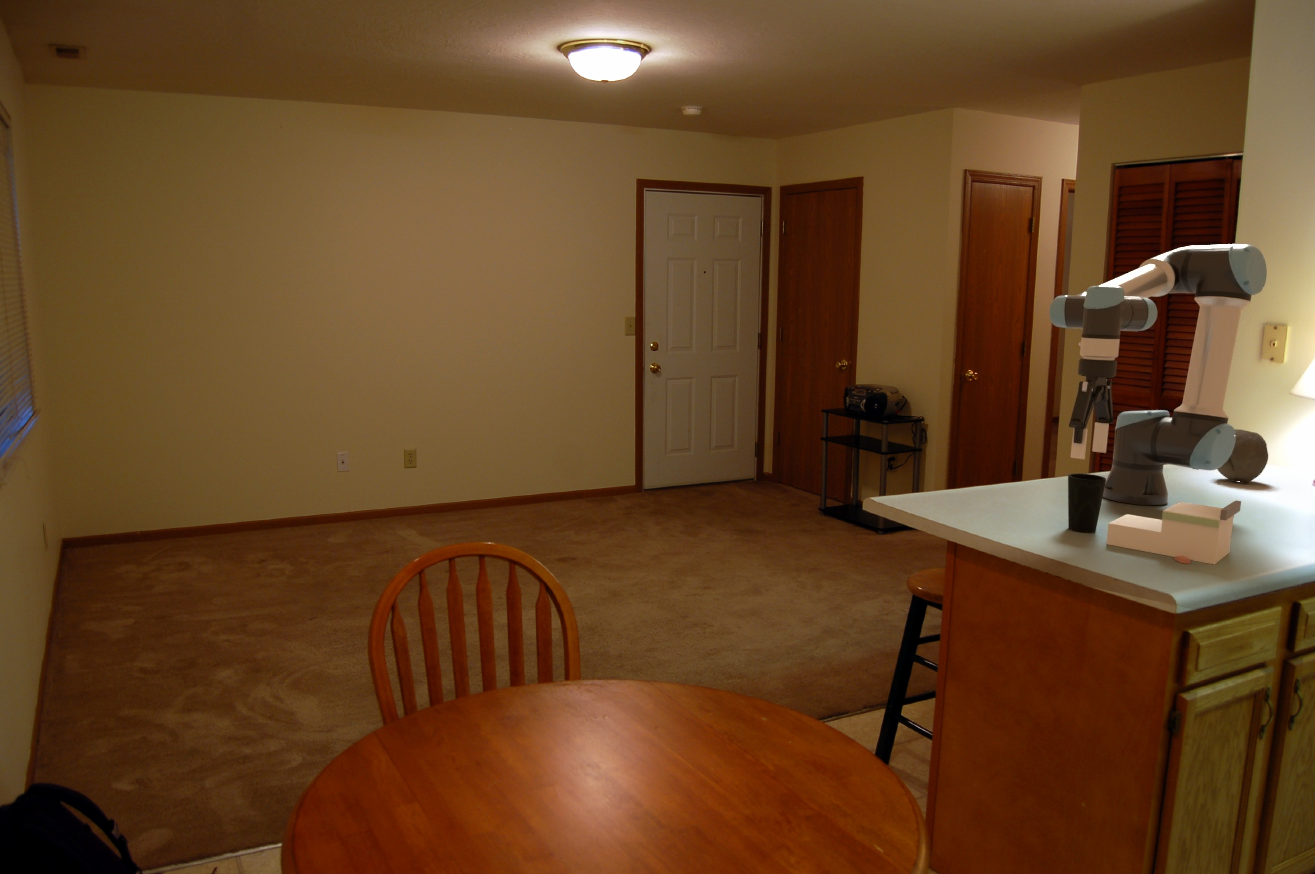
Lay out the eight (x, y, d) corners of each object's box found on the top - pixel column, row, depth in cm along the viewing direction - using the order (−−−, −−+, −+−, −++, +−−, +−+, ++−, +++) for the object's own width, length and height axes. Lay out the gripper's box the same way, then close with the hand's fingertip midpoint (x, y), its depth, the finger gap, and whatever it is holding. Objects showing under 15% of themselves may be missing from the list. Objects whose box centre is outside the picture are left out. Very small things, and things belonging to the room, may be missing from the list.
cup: (1105, 535, 202) (1110, 481, 200) (1067, 532, 203) (1072, 479, 201) (1095, 526, 209) (1100, 474, 207) (1059, 524, 210) (1064, 472, 209)
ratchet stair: (1125, 533, 203) (1130, 484, 201) (1235, 553, 189) (1241, 500, 187) (1100, 547, 191) (1105, 495, 190) (1215, 569, 177) (1222, 513, 175)
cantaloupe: (1277, 486, 259) (1284, 434, 257) (1226, 485, 260) (1233, 432, 257) (1246, 477, 273) (1252, 426, 271) (1198, 475, 273) (1204, 425, 271)
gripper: (1099, 355, 212) (1090, 447, 215) (1059, 358, 194) (1049, 458, 197) (1134, 357, 207) (1124, 451, 210) (1096, 361, 189) (1086, 463, 192)
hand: (1088, 455), depth 203 cm, fingers open, 13 cm apart
